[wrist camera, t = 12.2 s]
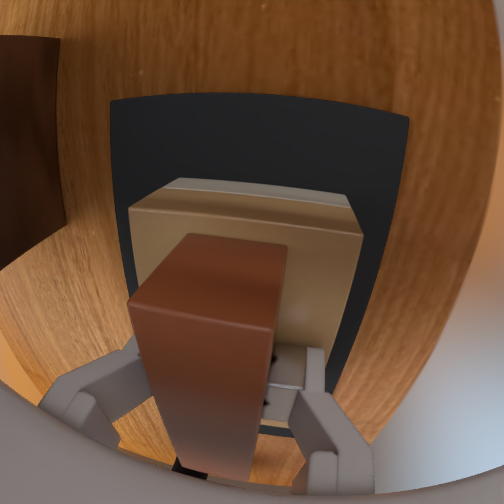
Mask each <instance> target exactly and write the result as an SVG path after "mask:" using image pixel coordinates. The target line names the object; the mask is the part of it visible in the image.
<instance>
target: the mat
mask: <svg viewBox="0 0 504 504" xmlns="http://www.w3.org/2000/svg"><path fill="white" fill-rule="evenodd" d="M408 127H409V117H406V116H403V115H399V114H395V113H390V112H386V111H382V110H377V109H373V108H368V107H363V106H358V105H352V104H346V103H340V102H334V101H327V100H320V99H313V98H304V97H295V96H284V95H271V94H254V93H184V94H167V95H155V96H144V97H135V98H127V99H119V100H112V101H110V145H111V166H112V180H113V192H114V202H115V212H116V220H117V228H118V235H119V242H120V249H121V255H122V261H123V267H124V272H125V278H126V283H127V288H128V293H129V298H130V297H131V296H132V295H133V294H134V293H135V291H136V290H137V289H138V288H139V285H138V279H137V273H136V267H135V260H134V253H133V246H132V239H131V230H130V222H129V212H128V208H129V207H130V206H132V205H133V204H135V203H136V202H138V201H140V200H141V199H143V198H145V197H146V196H148V195H150V194H151V193H153V192H155V191H156V190H158V189H160V188H162V187H164V186H165V185H167V184H169V183H171V182H172V181H174V180H176V179H178V178H195V179H210V180H223V181H235V182H246V183H256V184H266V185H275V186H284V187H292V188H300V189H308V190H315V191H322V192H329V193H336V194H343V195H345V196H346V197H347V199H348V202H349V204H350V206H351V209H352V210H353V212H354V214H355V216H356V219H357V221H358V223H359V226H360V228H361V230H362V232H363V236H364V237H363V242H362V246H361V250H360V254H359V258H358V262H357V266H356V270H355V274H354V278H353V281H352V285H351V289H350V292H349V296H348V299H347V303H346V306H345V310H344V313H343V316H342V319H341V323H340V326H339V329H338V332H337V335H336V338H335V341H334V344H333V347H332V350H331V353H330V356H329V359H328V362H327V364H326V367H325V392H327V393H330V394H331V395H332V393H333V390H334V388H335V386H336V384H337V382H338V379H339V377H340V375H341V372H342V370H343V368H344V365H345V363H346V361H347V358H348V356H349V353H350V351H351V348H352V346H353V343H354V341H355V338H356V335H357V333H358V330H359V327H360V325H361V322H362V319H363V316H364V313H365V310H366V308H367V305H368V302H369V299H370V296H371V293H372V289H373V286H374V283H375V280H376V277H377V273H378V270H379V267H380V263H381V260H382V256H383V252H384V249H385V245H386V241H387V237H388V234H389V230H390V225H391V221H392V217H393V213H394V208H395V204H396V199H397V194H398V189H399V184H400V179H401V173H402V168H403V162H404V156H405V149H406V142H407V135H408ZM259 433H261V434H268V435H275V436H283V437H291V438H294V436H293V434H292V432H291V430H290V428H283V427H275V426H268V425H261V424H260V429H259Z"/></svg>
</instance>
